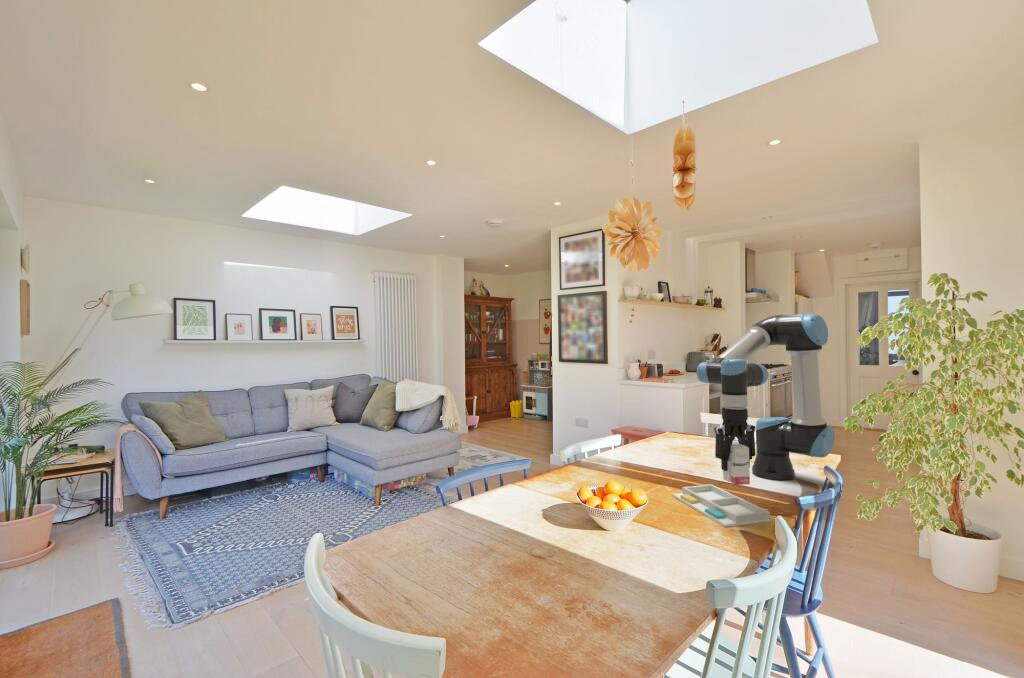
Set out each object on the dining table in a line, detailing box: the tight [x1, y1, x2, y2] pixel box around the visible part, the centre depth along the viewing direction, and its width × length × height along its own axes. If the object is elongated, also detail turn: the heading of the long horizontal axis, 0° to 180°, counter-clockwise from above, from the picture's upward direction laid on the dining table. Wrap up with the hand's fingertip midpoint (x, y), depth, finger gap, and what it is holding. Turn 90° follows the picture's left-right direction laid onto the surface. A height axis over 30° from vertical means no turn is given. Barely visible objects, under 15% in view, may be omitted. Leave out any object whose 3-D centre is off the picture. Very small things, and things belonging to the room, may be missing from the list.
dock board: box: [672, 483, 771, 528], centre depth 155 cm, size 16×28×3 cm, turn 13°
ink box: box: [729, 440, 751, 486], centre depth 148 cm, size 9×5×12 cm, turn 1°
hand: (735, 479), depth 148 cm, fingers closed on ink box, 6 cm apart
